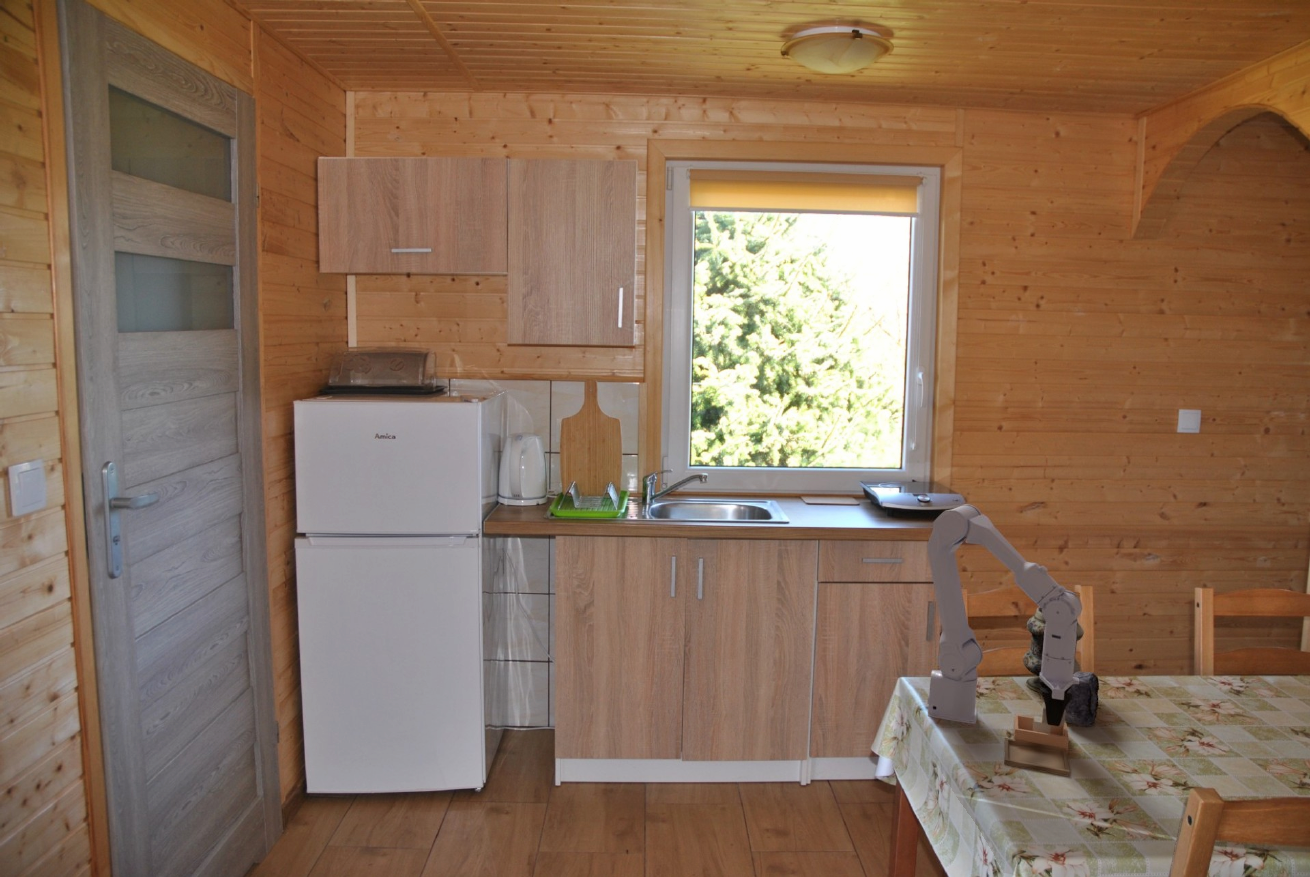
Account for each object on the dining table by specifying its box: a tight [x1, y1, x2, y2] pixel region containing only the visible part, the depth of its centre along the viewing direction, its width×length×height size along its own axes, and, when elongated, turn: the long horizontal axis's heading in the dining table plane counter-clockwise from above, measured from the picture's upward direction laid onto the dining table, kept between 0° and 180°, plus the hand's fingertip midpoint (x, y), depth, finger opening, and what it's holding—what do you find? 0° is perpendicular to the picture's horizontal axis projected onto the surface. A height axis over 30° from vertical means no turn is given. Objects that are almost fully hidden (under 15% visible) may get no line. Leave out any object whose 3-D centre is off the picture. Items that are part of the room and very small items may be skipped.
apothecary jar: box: [1022, 606, 1085, 693], centre depth 208 cm, size 12×12×18 cm
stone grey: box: [1033, 715, 1051, 734], centre depth 181 cm, size 4×3×3 cm
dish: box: [1013, 713, 1070, 753], centre depth 181 cm, size 10×8×3 cm
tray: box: [1004, 737, 1070, 777], centre depth 173 cm, size 11×10×1 cm
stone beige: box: [1040, 701, 1066, 726], centre depth 179 cm, size 4×3×3 cm
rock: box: [1065, 670, 1100, 727], centre depth 190 cm, size 10×6×10 cm, turn 142°
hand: (1052, 721), depth 180 cm, fingers open, 3 cm apart
